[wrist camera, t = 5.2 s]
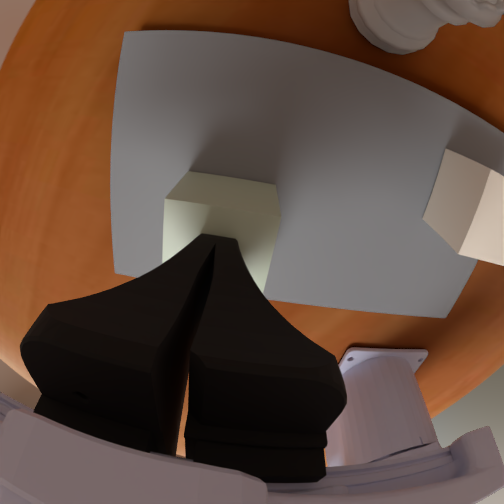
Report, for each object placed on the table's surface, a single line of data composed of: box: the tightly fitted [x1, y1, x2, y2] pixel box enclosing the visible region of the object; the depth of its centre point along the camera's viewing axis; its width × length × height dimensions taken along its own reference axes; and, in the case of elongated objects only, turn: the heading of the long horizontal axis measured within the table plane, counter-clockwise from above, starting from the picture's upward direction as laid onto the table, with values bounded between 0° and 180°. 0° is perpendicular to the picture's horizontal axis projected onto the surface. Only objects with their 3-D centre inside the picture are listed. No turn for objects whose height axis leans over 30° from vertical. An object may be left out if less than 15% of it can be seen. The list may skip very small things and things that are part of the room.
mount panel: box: [110, 30, 504, 318], centre depth 13 cm, size 13×22×4 cm, turn 80°
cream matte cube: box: [422, 149, 504, 266], centre depth 11 cm, size 4×4×4 cm
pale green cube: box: [162, 171, 281, 293], centre depth 12 cm, size 4×4×4 cm
